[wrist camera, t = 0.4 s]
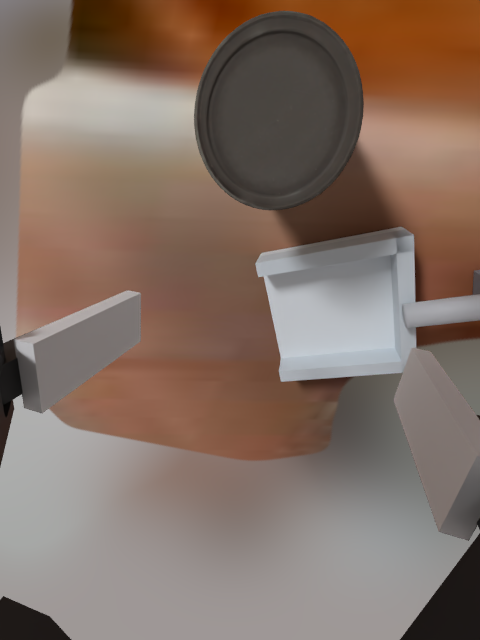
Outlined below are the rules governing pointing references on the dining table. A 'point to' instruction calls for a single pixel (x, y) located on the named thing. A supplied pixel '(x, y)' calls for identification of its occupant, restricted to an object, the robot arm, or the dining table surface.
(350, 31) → the dining table surface
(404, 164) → the dining table surface
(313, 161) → the coffee can
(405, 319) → the tray
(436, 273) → the dining table surface
